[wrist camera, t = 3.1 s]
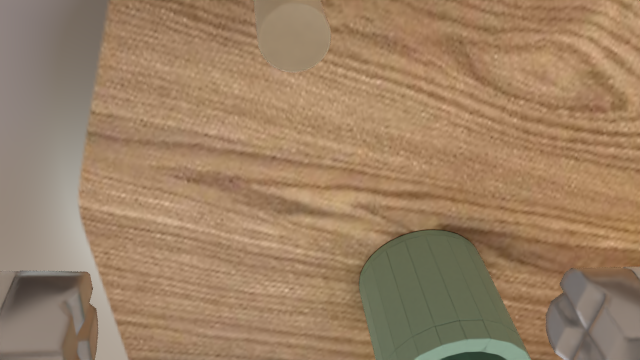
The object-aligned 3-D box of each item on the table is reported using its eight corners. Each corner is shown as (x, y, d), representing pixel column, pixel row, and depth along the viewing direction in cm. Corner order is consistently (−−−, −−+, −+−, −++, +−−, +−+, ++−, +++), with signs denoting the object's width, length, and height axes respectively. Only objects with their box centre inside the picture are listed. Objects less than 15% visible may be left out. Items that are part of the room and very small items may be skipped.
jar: (351, 320, 48) (375, 435, 40) (368, 229, 43) (401, 341, 35) (463, 317, 50) (509, 427, 42) (495, 229, 44) (554, 336, 36)
